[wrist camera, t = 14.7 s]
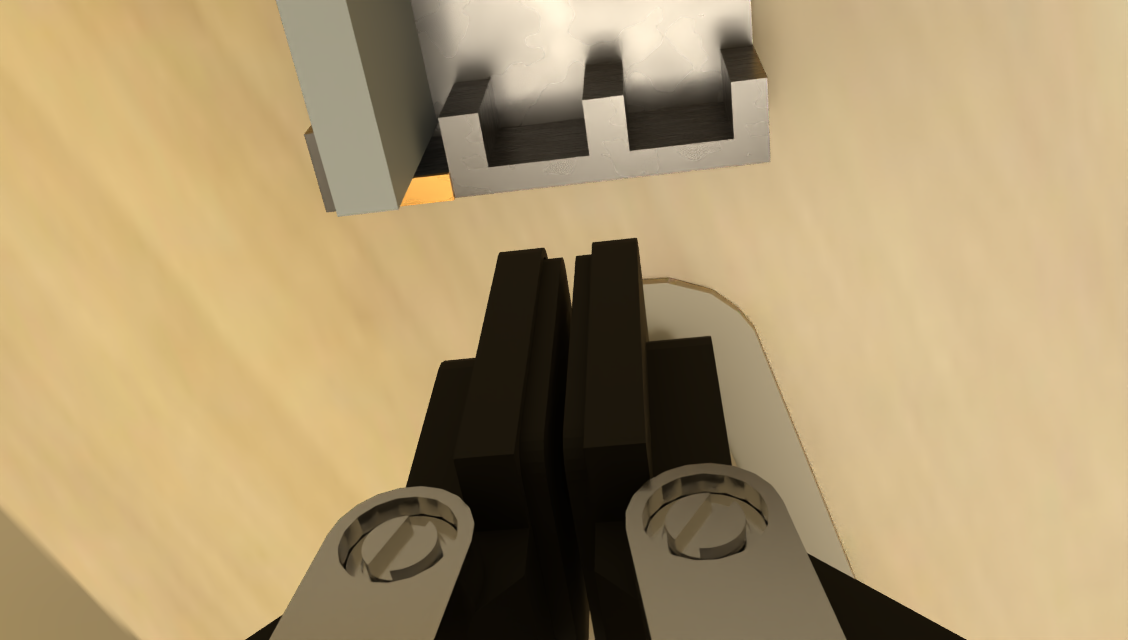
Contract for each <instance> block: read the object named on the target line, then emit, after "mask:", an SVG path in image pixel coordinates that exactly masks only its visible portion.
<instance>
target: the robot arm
mask: <svg viewBox="0 0 1128 640" xmlns="http://www.w3.org/2000/svg"><path fill="white" fill-rule="evenodd" d="M589 614H590V615H591V621H592V626H593V632H594V637H595V640H966V639H964V638H962V637H960V636H959V635H957V634H955V633H953V632H951V631H949V630H948V629H946V628H944V627H942V626H940V625H938V624H937V623H935V622H933V621H931V620H929V619H927V618H926V617H924V616H922V615H920V614H918V613H916V612H915V611H913V610H911V609H909V608H907V607H905V606H904V605H902V604H900V603H898V602H896V601H894V600H893V599H891V598H889V597H887V596H885V595H883V594H882V593H880V592H878V591H876V590H874V589H872V588H871V587H869V586H867V585H865V584H863V583H861V582H860V581H858V580H856V579H854V578H852V577H850V576H849V575H847V574H845V573H843V572H841V571H839V570H838V569H836V568H834V567H832V566H830V565H828V564H827V563H825V562H823V561H821V560H819V559H817V558H816V557H814V556H812V555H810V554H808V553H807V552H806V550H805V547H804V545H803V543H802V541H801V539H800V536H799V534H798V532H797V530H796V528H795V525H794V523H793V521H792V519H791V517H790V514H789V512H788V510H787V508H786V506H785V503H784V501H783V500H782V498H781V497H780V495H779V494H778V493H777V491H776V490H775V489H774V487H773V486H772V485H771V484H770V483H768V482H767V481H765V480H764V479H762V478H761V477H760V476H758V475H757V474H755V473H752V472H750V471H747V470H744V469H741V468H739V467H736V466H732V461H731V455H730V449H729V443H728V437H727V430H726V424H725V418H724V412H723V406H722V399H721V393H720V387H719V381H718V375H717V368H716V362H715V356H714V350H713V344H712V338H711V336H701V337H690V338H680V339H669V340H659V341H649V335H648V326H647V318H646V309H645V300H644V291H643V282H642V273H641V265H640V256H639V247H638V240H637V238H630V239H621V240H611V241H602V242H593V243H592V254H591V255H582V256H576V261H575V274H574V288H573V302H572V306H571V300H570V293H569V287H568V281H567V274H566V268H565V263H564V260H563V258H553V259H548V257H547V253H546V250H545V248H536V249H527V250H517V251H508V252H500V253H499V255H498V259H497V264H496V268H495V273H494V277H493V282H492V286H491V291H490V295H489V300H488V304H487V309H486V313H485V318H484V322H483V327H482V331H481V336H480V340H479V345H478V349H477V354H476V358H469V359H458V360H448V361H444V362H442V363H441V365H440V367H439V370H438V373H437V377H436V380H435V384H434V387H433V391H432V395H431V398H430V402H429V406H428V409H427V413H426V416H425V420H424V424H423V427H422V431H421V434H420V438H419V442H418V445H417V449H416V453H415V456H414V460H413V463H412V467H411V471H410V474H409V478H408V481H407V485H406V488H399V489H395V490H392V491H388V492H385V493H381V494H378V495H376V496H374V497H372V498H370V499H368V500H366V501H364V502H362V503H360V504H358V505H356V506H355V507H354V508H353V509H351V510H350V511H349V512H348V513H346V514H345V515H344V516H343V517H341V518H340V519H339V520H338V522H337V523H336V524H335V526H334V527H333V528H332V529H331V531H330V532H329V533H328V535H327V536H326V538H325V540H324V542H323V544H322V545H321V547H320V549H319V551H318V553H317V554H316V556H315V558H314V560H313V562H312V563H311V565H310V567H309V569H308V571H307V572H306V574H305V576H304V578H303V580H302V581H301V583H300V585H299V587H298V589H297V590H296V592H295V594H294V596H293V598H292V599H291V601H290V603H289V605H288V607H287V608H286V610H285V612H284V614H283V615H282V616H280V617H279V618H277V619H276V620H274V621H273V622H271V623H270V624H268V625H267V626H265V627H264V628H262V629H261V630H259V631H258V632H256V633H255V634H253V635H252V636H250V637H249V638H247V639H246V640H589Z"/></svg>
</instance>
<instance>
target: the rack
mask: <svg viewBox="0 0 1128 640" xmlns="http://www.w3.org/2000/svg"><path fill="white" fill-rule="evenodd" d="M410 1H411V5H412V10H413V14H414V19H415V24H416V28H417V33H418V37H419V42H420V47H421V51H422V56H423V60H424V65H425V69H426V74H427V79H428V83H429V88H430V92H431V97H432V101H433V106H434V111H435V115H436V120H437V126H436V128H435V130H434V132H433V135H432V137H431V139H430V141H429V143H428V146H427V148H426V150H425V152H424V154H423V157H422V159H421V161H420V163H419V165H418V168H417V170H416V172H415V174H414V176H413V179H412V181H411V183H410V185H409V187H408V190H407V192H406V194H405V196H404V198H403V201H402V203H401V205H400V206H407V205H416V204H424V203H433V202H442V201H451V200H454V199H455V198H458V197H467V196H476V195H485V194H494V193H502V192H511V191H520V190H529V189H538V188H547V187H555V186H564V185H573V184H582V183H591V182H600V181H608V180H617V179H626V178H635V177H644V176H653V175H661V174H670V173H679V172H688V171H697V170H706V169H715V168H723V167H732V166H741V165H750V164H759V163H768V162H770V136H769V108H768V79H767V76H766V73H765V71H764V69H763V67H762V64H761V62H760V60H759V58H758V55H757V53H756V51H755V49H754V46H753V38H752V14H751V0H410ZM304 136H305V139H306V143H307V146H308V150H309V153H310V157H311V160H312V164H313V167H314V171H315V174H316V178H317V181H318V185H319V188H320V192H321V195H322V199H323V202H324V205H325V209H326V212H334V211H336V209H335V205H334V202H333V198H332V195H331V191H330V188H329V184H328V181H327V177H326V174H325V170H324V167H323V163H322V160H321V156H320V153H319V149H318V146H317V142H316V139H315V135H314V132H313V128H312V125H311V126H310V127H309V129H308V130H307V131H306V133H305V134H304Z"/></svg>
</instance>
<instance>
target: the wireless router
mask: <svg viewBox="0 0 1128 640" xmlns="http://www.w3.org/2000/svg"><path fill="white" fill-rule="evenodd" d="M642 282H643V291H644V300H645V309H646V318H647V326H648V335H649V341H659V340H669V339H680V338H690V337H701V336H711V338H712V344H713V350H714V356H715V362H716V368H717V375H718V381H719V387H720V393H721V399H722V406H723V412H724V418H725V424H726V430H727V437H728V443H729V449H730V455H731V461H732V466H736V467H739V468H741V469H744V470H747V471H750V472H752V473H755V474H757V475H758V476H760V477H761V478H762V479H764V480H765V481H767V482H768V483H770V484H771V485H772V486H773V487H774V489H775V490H776V491H777V493H778V494H779V495H780V497H781V498H782V500H783V501H784V503H785V506H786V508H787V510H788V512H789V514H790V517H791V519H792V521H793V523H794V525H795V528H796V530H797V532H798V534H799V536H800V539H801V541H802V543H803V545H804V547H805V550H806V552H807V553H808V554H810V555H812V556H814V557H816V558H817V559H819V560H821V561H823V562H825V563H827V564H828V565H830V566H832V567H834V568H836V569H838V570H839V571H841V572H843V573H845V574H847V575H849V576H850V577H852V578H854V579H855V576H854V574H853V572H852V569H851V567H850V564H849V562H848V559H847V557H846V554H845V552H844V549H843V547H842V544H841V542H840V539H839V537H838V534H837V532H836V529H835V527H834V524H833V522H832V519H831V517H830V514H829V512H828V509H827V507H826V504H825V502H824V499H823V497H822V494H821V492H820V489H819V487H818V484H817V482H816V479H815V477H814V474H813V472H812V469H811V467H810V464H809V462H808V459H807V457H806V454H805V452H804V449H803V447H802V444H801V442H800V439H799V437H798V434H797V432H796V429H795V427H794V424H793V422H792V419H791V417H790V414H789V412H788V409H787V407H786V404H785V402H784V399H783V397H782V395H781V392H780V390H779V387H778V385H777V382H776V380H775V377H774V375H773V372H772V370H771V367H770V365H769V362H768V360H767V357H766V355H765V352H764V350H763V347H762V345H761V342H760V340H759V337H758V335H757V332H756V330H755V327H754V326H753V325H752V324H751V322H750V321H749V320H748V319H747V318H746V316H745V315H744V314H743V313H742V312H741V310H740V309H739V308H738V307H737V306H735V305H734V304H733V303H731V302H730V301H728V300H727V299H725V298H724V297H723V296H721V295H720V294H718V293H717V292H715V291H714V290H712V289H708V288H705V287H701V286H698V285H694V284H691V283H687V282H683V281H680V280H676V279H672V278H661V279H647V280H642ZM589 640H595V637H594V632H593V626H592V621H591V615H590V614H589Z"/></svg>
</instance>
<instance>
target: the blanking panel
mask: <svg viewBox="0 0 1128 640" xmlns="http://www.w3.org/2000/svg"><path fill="white" fill-rule="evenodd" d="M276 3H277V6H278V10H279V13H280V17H281V20H282V24H283V27H284V31H285V34H286V38H287V41H288V45H289V48H290V52H291V55H292V59H293V62H294V66H295V69H296V73H297V76H298V80H299V83H300V87H301V90H302V94H303V97H304V101H305V104H306V107H307V111H308V114H309V118H310V121H311V125H312V128H313V132H314V135H315V139H316V142H317V146H318V149H319V153H320V156H321V160H322V163H323V167H324V170H325V174H326V177H327V181H328V184H329V188H330V191H331V195H332V198H333V202H334V205H335V209H336V212H337V216H338V217H340V216H349V215H357V214H366V213H374V212H383V211H392V210H398V209H399V207H400V205H401V203H402V201H403V198H404V196H405V194H406V192H407V190H408V187H409V185H410V183H411V181H412V179H413V176H414V174H415V172H416V170H417V168H418V165H419V163H420V161H421V159H422V157H423V154H424V152H425V150H426V148H427V146H428V143H429V141H430V139H431V137H432V135H433V132H434V130H435V128H436V126H437V120H436V115H435V111H434V106H433V101H432V97H431V92H430V88H429V83H428V79H427V74H426V69H425V65H424V60H423V56H422V51H421V47H420V42H419V37H418V33H417V28H416V24H415V19H414V14H413V10H412V5H411V1H410V0H276Z"/></svg>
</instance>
